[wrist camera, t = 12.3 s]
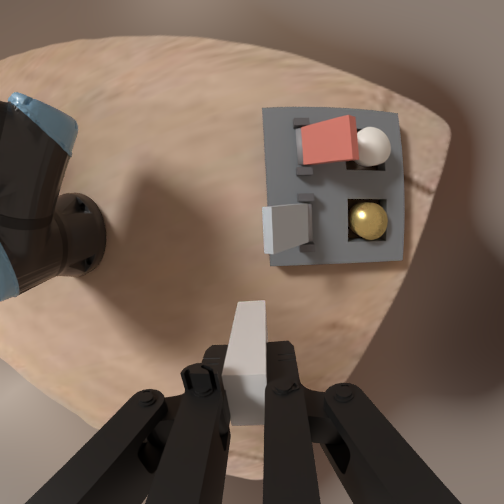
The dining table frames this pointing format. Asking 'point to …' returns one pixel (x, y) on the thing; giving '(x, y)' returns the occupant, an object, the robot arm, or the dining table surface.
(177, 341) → the dining table surface
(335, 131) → the paddle red
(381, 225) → the button brass
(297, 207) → the paddle grey
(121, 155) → the dining table surface
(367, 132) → the button white
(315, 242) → the panel
